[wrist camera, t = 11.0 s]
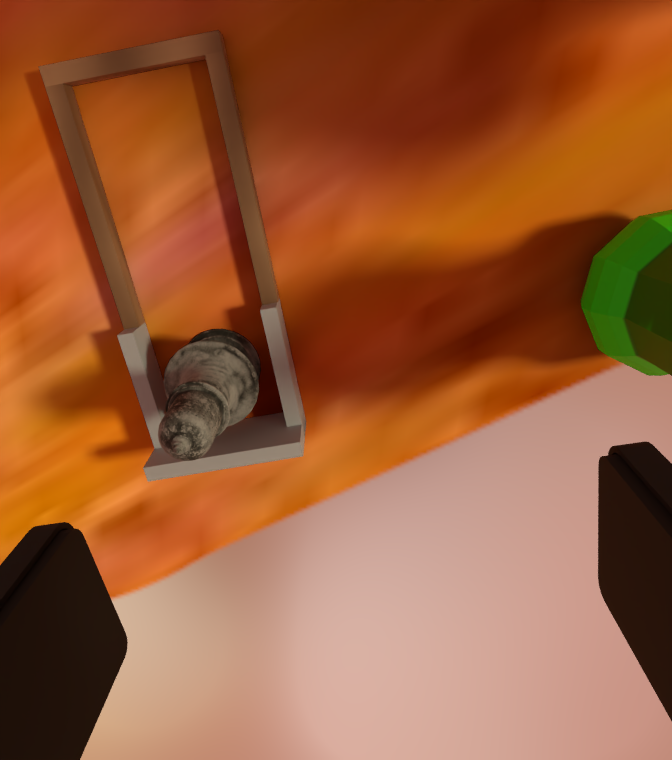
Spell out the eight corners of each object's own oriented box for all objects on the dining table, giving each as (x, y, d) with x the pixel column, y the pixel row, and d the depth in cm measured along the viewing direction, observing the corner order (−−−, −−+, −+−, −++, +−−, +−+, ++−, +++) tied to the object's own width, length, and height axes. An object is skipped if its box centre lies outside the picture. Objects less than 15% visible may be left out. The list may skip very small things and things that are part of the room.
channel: (222, 34, 31) (218, 29, 30) (279, 298, 36) (277, 302, 35) (48, 70, 31) (38, 66, 30) (130, 324, 37) (124, 329, 36)
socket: (279, 298, 36) (272, 317, 31) (306, 421, 39) (303, 456, 35) (130, 324, 37) (101, 347, 32) (168, 444, 40) (147, 481, 35)
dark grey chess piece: (255, 318, 37) (222, 387, 25) (272, 399, 39) (249, 495, 28) (168, 331, 37) (97, 406, 26) (190, 411, 39) (134, 512, 28)
